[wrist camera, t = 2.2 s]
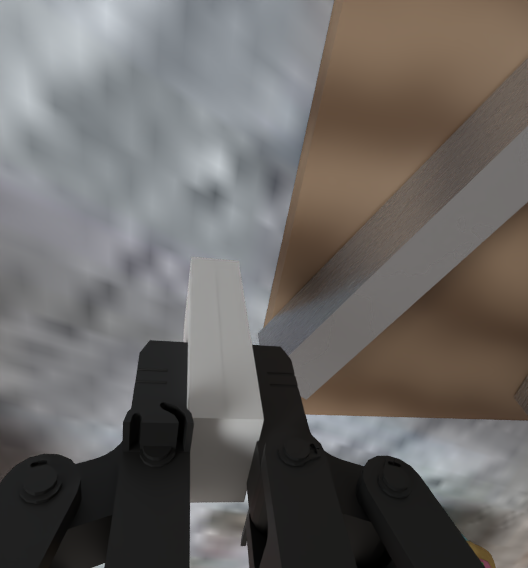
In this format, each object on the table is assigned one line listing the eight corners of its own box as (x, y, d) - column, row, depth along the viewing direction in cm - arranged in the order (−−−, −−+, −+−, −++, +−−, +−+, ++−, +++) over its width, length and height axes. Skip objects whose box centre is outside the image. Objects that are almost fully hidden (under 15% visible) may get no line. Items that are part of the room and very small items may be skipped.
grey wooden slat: (643, -62, 15) (731, -70, 13) (672, -7, 16) (758, -4, 14) (257, 333, 22) (265, 378, 20) (294, 354, 23) (306, 399, 21)
